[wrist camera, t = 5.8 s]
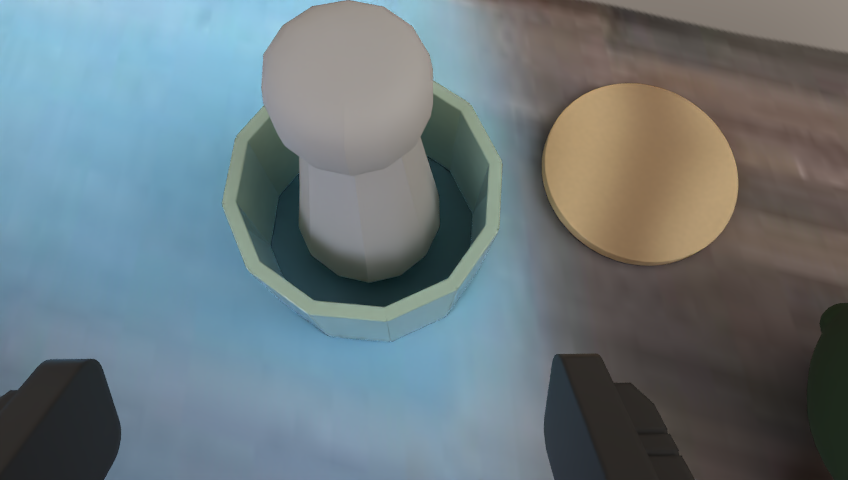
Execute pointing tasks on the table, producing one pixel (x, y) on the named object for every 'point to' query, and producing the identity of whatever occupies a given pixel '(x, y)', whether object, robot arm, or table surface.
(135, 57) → the table surface
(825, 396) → the toy figurine
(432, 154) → the cup
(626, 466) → the robot arm
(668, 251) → the coaster
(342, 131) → the salt shaker
